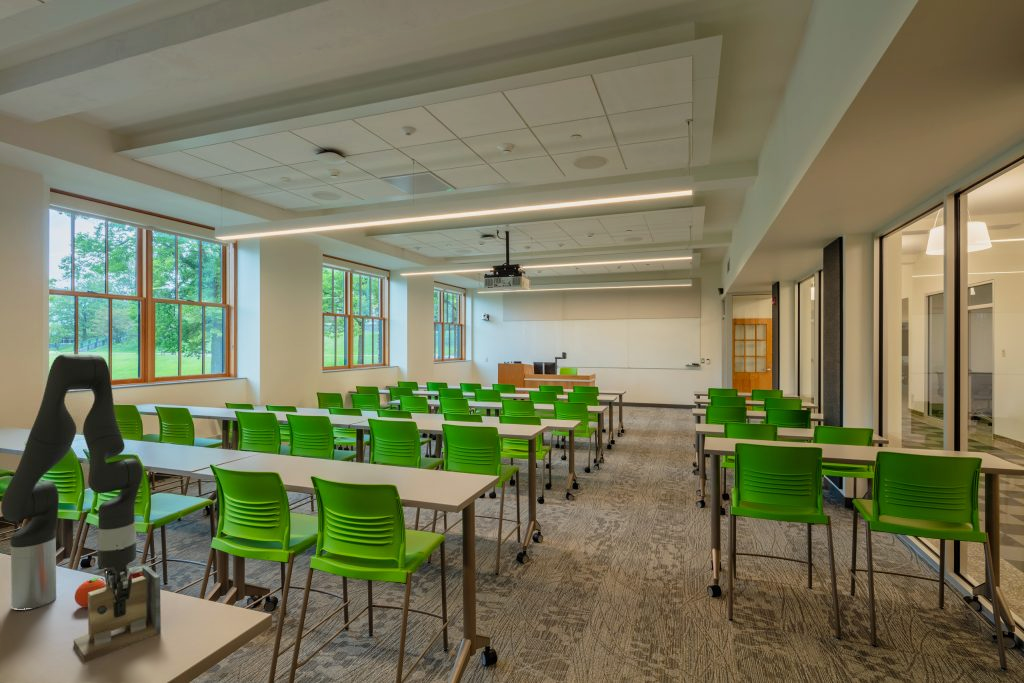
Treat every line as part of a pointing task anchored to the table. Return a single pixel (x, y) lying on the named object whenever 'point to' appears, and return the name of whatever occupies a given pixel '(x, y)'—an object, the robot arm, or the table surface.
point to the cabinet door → (104, 608)
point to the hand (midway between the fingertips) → (118, 613)
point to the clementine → (87, 590)
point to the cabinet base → (129, 633)
